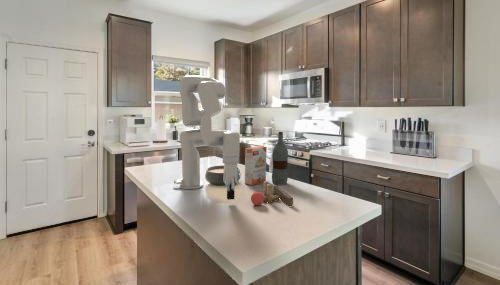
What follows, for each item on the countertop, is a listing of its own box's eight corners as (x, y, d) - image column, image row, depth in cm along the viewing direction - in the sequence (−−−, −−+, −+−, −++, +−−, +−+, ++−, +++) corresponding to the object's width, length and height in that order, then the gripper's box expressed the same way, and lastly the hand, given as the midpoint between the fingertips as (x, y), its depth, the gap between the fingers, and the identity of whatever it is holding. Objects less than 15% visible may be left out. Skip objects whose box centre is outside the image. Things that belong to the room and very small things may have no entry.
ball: (263, 208, 128) (250, 206, 129) (265, 195, 131) (252, 194, 132) (262, 202, 123) (249, 201, 124) (264, 190, 126) (251, 188, 127)
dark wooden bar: (288, 206, 126) (288, 198, 125) (273, 193, 145) (273, 186, 144) (292, 206, 126) (293, 197, 126) (277, 193, 145) (277, 185, 145)
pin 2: (267, 203, 130) (268, 185, 129) (266, 201, 132) (266, 184, 131) (272, 203, 130) (273, 185, 129) (271, 201, 133) (271, 183, 132)
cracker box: (252, 185, 159) (253, 149, 156) (244, 184, 162) (244, 148, 160) (266, 180, 170) (267, 146, 167) (258, 179, 174) (258, 145, 171)
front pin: (262, 198, 131) (279, 197, 133) (260, 195, 133) (277, 194, 135) (262, 202, 132) (279, 201, 134) (260, 199, 134) (277, 198, 136)
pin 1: (264, 200, 135) (264, 182, 134) (262, 198, 137) (263, 181, 136) (269, 199, 135) (269, 182, 134) (267, 198, 138) (267, 181, 137)
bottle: (286, 181, 169) (287, 131, 166) (288, 185, 160) (290, 132, 157) (270, 181, 169) (271, 131, 165) (272, 185, 160) (273, 132, 156)
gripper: (220, 156, 133) (219, 194, 136) (225, 163, 119) (225, 205, 121) (235, 156, 135) (235, 193, 137) (243, 162, 121) (242, 203, 123)
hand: (230, 198), depth 129 cm, fingers closed
